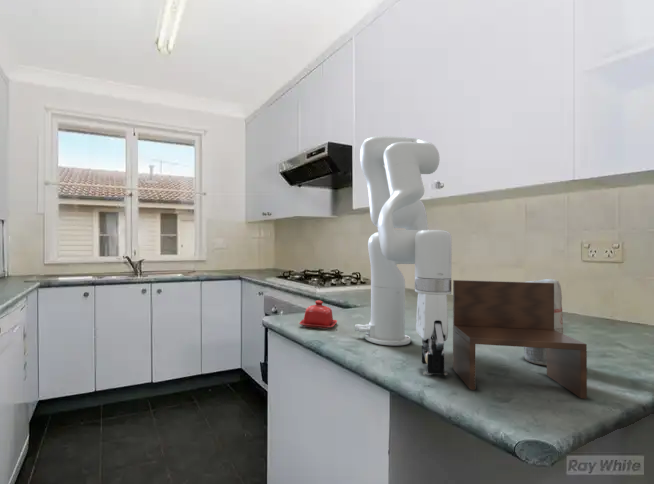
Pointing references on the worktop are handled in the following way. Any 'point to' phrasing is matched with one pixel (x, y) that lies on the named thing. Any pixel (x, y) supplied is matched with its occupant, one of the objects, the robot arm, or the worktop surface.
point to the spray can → (541, 353)
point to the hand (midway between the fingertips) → (432, 367)
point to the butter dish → (318, 316)
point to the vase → (426, 348)
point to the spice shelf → (514, 328)
